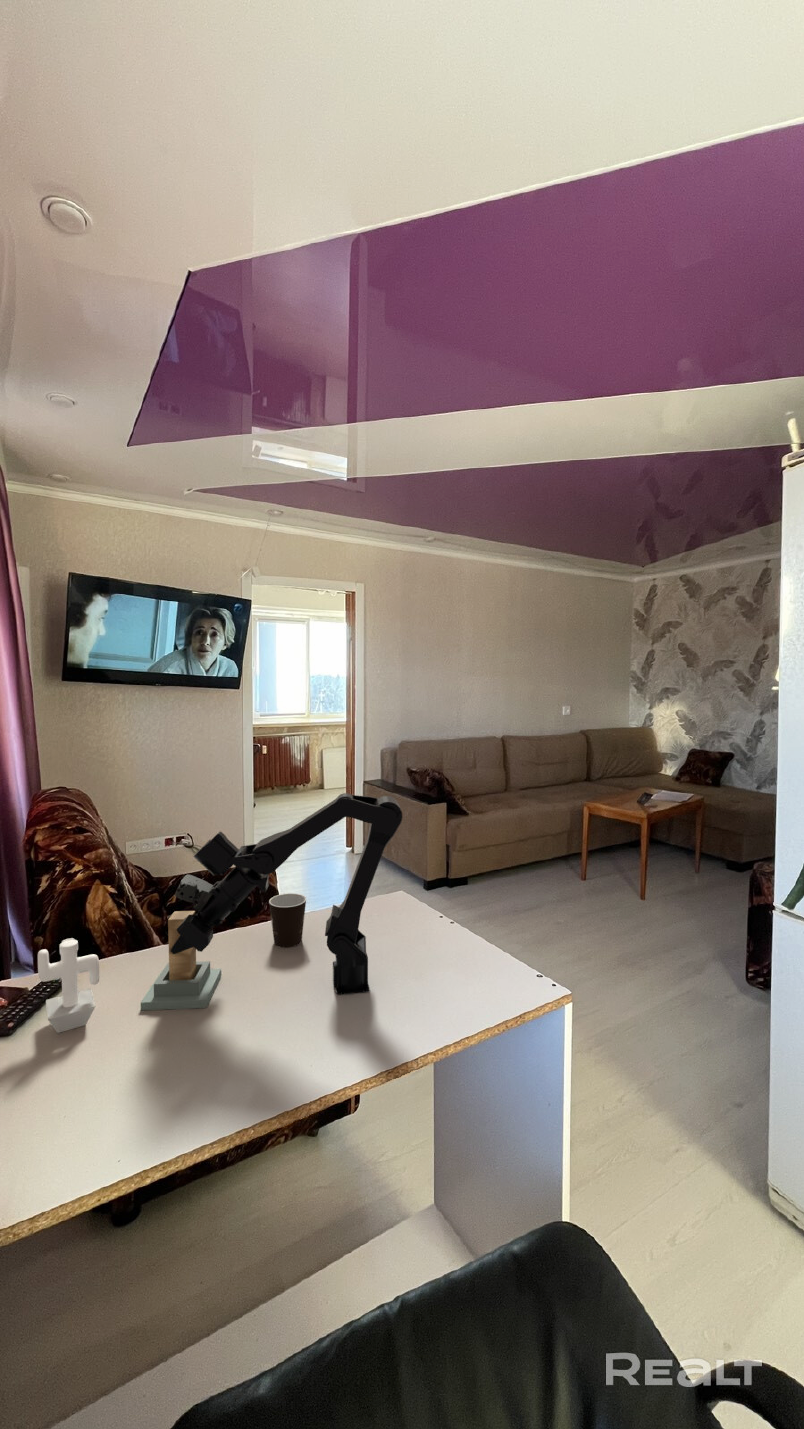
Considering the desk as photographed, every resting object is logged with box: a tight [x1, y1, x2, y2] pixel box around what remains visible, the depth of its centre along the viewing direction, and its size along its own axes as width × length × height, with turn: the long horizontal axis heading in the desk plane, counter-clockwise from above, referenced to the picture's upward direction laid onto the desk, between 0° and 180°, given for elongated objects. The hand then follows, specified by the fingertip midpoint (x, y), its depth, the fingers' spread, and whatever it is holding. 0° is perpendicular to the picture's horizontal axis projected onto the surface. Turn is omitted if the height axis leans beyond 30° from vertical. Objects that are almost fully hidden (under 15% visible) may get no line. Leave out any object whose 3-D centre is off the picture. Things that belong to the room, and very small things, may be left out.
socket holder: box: [140, 960, 222, 1011], centre depth 113 cm, size 12×12×4 cm
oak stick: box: [167, 910, 197, 980], centre depth 113 cm, size 4×4×13 cm
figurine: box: [37, 937, 101, 1034], centre depth 103 cm, size 7×9×15 cm
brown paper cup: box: [268, 893, 307, 949], centre depth 137 cm, size 12×9×10 cm
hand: (175, 947), depth 113 cm, fingers closed on oak stick, 4 cm apart
